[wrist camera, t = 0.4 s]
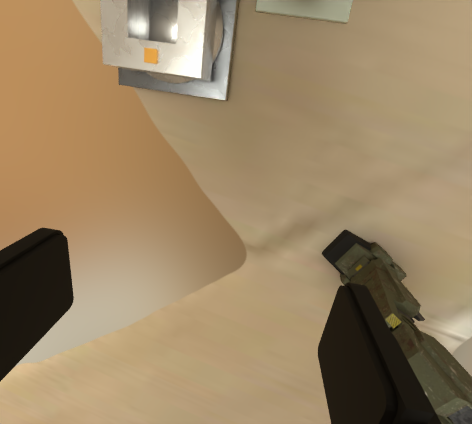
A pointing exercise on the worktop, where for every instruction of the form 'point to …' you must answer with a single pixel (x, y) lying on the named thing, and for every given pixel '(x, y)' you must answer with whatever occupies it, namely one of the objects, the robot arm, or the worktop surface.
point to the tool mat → (308, 9)
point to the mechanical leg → (405, 325)
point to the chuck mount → (195, 87)
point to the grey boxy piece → (162, 37)
